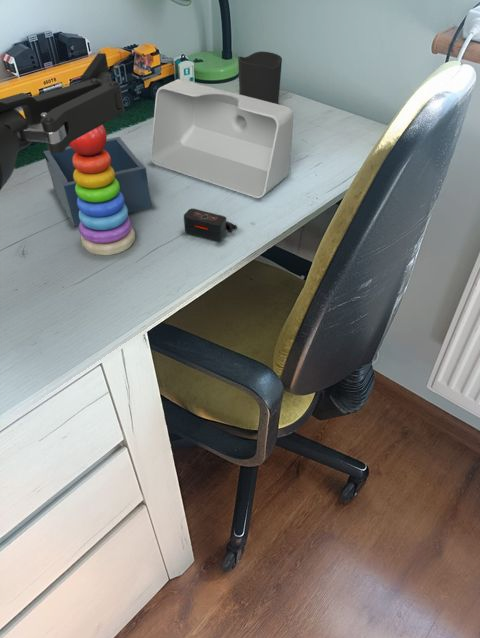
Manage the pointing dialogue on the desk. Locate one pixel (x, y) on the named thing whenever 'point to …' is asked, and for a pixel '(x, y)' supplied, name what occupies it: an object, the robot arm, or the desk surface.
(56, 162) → the square holder
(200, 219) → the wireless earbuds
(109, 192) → the stacking toy
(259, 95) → the pen holder
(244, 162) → the light grey open box
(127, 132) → the desk surface
